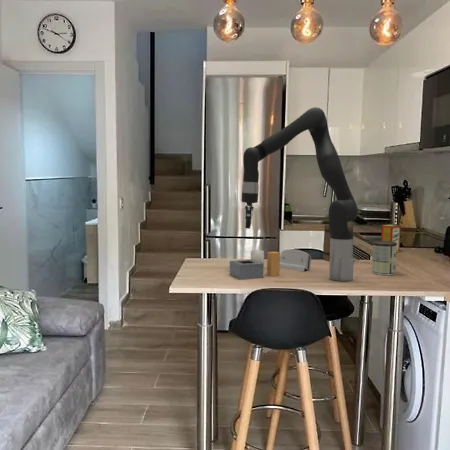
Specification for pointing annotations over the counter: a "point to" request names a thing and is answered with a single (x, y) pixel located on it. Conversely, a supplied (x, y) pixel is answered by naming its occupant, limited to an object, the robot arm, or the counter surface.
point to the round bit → (257, 255)
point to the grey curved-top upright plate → (295, 260)
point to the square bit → (273, 263)
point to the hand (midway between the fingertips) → (248, 227)
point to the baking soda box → (391, 234)
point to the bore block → (246, 269)
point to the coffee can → (384, 258)
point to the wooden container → (327, 241)
